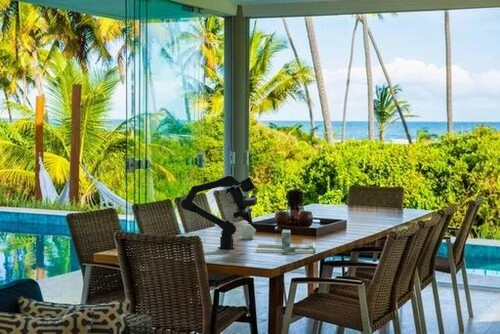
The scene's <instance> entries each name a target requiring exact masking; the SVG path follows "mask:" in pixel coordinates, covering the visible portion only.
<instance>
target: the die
mask: <svg viewBox="0 0 500 334" xmlns="http://www.w3.org/2000/svg"><path fill="white" fill-rule="evenodd" d="M256 231H257V229H256V228H254V226H252V225H251V224H250V223H248V224H241V226H240V229H239V232H238V234H239V235H240V236H241V237H242V238H243V239H244V240H253V239H254V237H255V234H256Z"/></svg>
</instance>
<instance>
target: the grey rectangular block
mask: <svg viewBox="0 0 500 334" xmlns="http://www.w3.org/2000/svg"><path fill="white" fill-rule="evenodd" d="M291 233H292V232H291V229H282V231H281V244H282V248H281V249H284V251H283V252H295V250H310V248H309V245H310V244H299V243H298V244H295V243H291V241H292V239H291V236H292V235H291Z"/></svg>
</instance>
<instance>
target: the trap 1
mask: <svg viewBox="0 0 500 334" xmlns="http://www.w3.org/2000/svg"><path fill="white" fill-rule="evenodd" d="M282 255H283V256H295V255H296V253H295V252H285V251H283V253H282Z"/></svg>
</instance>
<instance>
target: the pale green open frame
mask: <svg viewBox="0 0 500 334" xmlns="http://www.w3.org/2000/svg"><path fill="white" fill-rule="evenodd" d="M308 245H309V250H295V254H314V253H315V254H316V242H312V244H308ZM257 247H258V248H256V249H255V253H272V254H273V253H279V254H280V253H281V254H283V252H285V251H284V249H282V243H280V244H279V243H277V244H275V243H273V244H272V243H258V244H257Z"/></svg>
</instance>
